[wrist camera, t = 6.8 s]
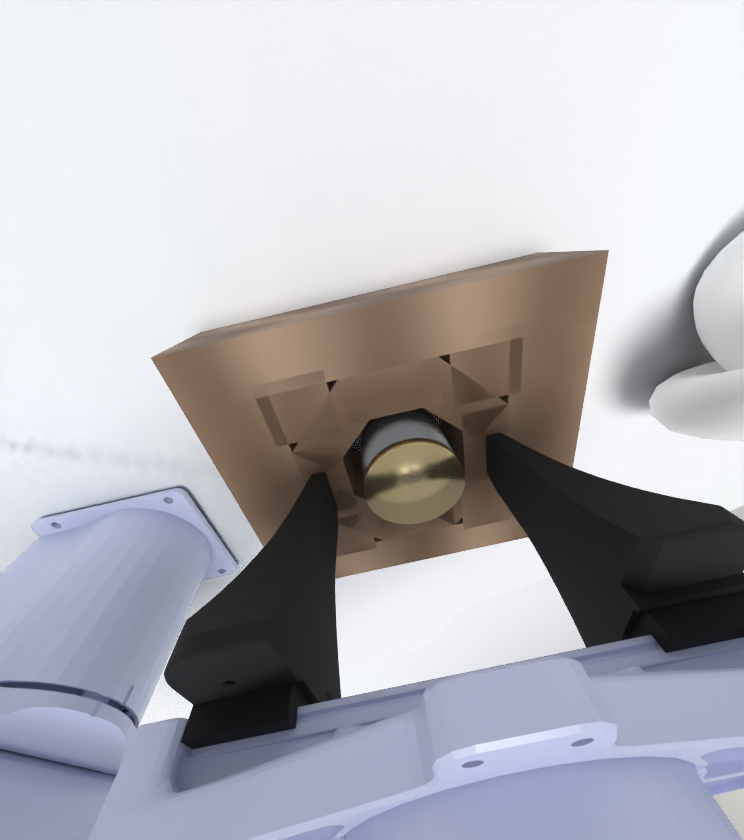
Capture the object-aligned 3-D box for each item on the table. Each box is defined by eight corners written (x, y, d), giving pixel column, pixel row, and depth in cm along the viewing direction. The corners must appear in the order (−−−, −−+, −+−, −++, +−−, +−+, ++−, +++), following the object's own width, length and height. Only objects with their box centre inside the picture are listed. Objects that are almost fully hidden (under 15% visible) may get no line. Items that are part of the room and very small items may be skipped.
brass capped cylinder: (366, 452, 18) (376, 533, 13) (349, 394, 16) (353, 459, 11) (430, 437, 18) (468, 512, 12) (421, 376, 16) (461, 433, 10)
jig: (297, 532, 20) (288, 588, 17) (199, 332, 14) (150, 358, 10) (524, 482, 20) (562, 529, 17) (538, 252, 13) (608, 250, 10)
